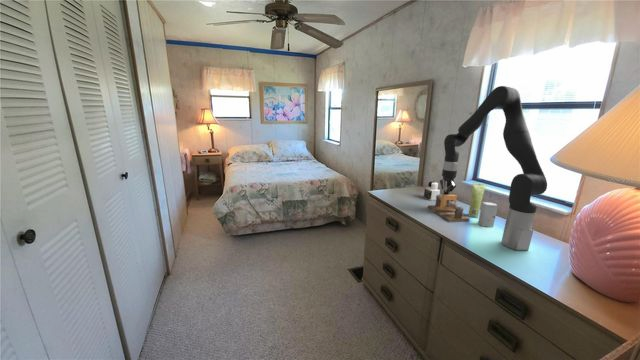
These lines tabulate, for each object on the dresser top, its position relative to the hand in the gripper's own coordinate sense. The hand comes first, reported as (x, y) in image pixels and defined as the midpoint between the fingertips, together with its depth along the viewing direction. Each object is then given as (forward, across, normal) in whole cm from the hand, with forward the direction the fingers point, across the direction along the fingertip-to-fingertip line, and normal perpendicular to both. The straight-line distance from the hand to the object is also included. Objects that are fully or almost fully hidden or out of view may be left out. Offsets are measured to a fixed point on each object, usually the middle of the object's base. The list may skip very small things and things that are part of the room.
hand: (445, 197), depth 153 cm
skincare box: (+9, -20, -12) cm, 25 cm away
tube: (+9, -8, -14) cm, 19 cm away
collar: (+6, -3, 0) cm, 7 cm away
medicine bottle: (+9, +24, -6) cm, 27 cm away
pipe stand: (+9, -4, 0) cm, 10 cm away
